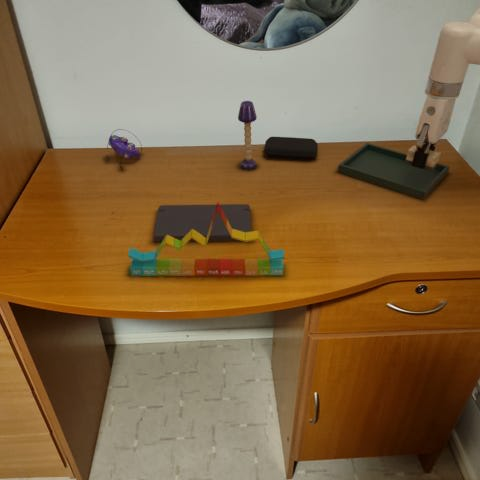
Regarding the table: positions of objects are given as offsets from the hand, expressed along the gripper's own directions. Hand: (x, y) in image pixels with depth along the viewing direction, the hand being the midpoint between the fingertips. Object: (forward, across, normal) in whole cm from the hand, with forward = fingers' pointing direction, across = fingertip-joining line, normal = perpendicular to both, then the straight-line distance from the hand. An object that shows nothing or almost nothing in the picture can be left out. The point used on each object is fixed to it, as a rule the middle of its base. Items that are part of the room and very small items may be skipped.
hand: (421, 163), depth 121 cm
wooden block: (0, 0, 0) cm, 0 cm away
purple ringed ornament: (+6, -38, +69) cm, 79 cm away
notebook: (+5, -49, +31) cm, 58 cm away
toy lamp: (+5, -20, +40) cm, 45 cm away
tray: (+5, 0, +7) cm, 8 cm away
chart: (+5, -61, +20) cm, 64 cm away
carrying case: (+5, -6, +35) cm, 36 cm away
